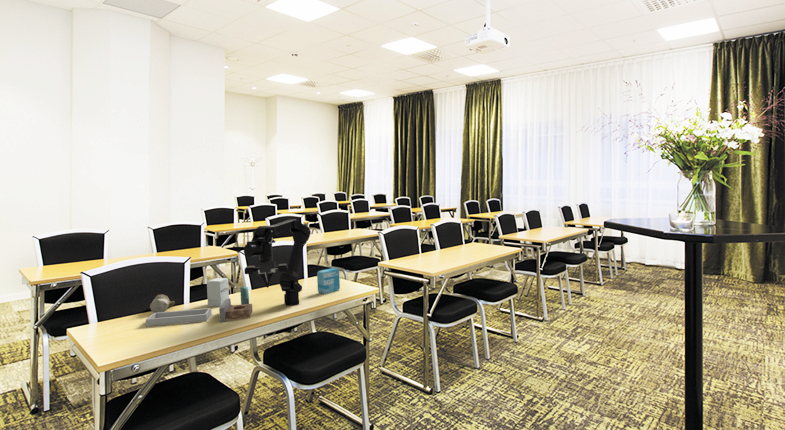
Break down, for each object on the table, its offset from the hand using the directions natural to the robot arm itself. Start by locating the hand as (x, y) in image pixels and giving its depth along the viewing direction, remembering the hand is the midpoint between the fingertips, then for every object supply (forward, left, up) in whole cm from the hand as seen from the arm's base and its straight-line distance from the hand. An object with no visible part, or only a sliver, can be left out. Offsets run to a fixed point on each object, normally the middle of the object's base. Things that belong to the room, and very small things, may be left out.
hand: (267, 287), depth 192 cm
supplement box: (+26, -22, -12) cm, 36 cm away
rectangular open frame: (+38, 0, -12) cm, 39 cm away
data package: (-29, -30, -12) cm, 44 cm away
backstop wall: (+19, 0, -12) cm, 22 cm away
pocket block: (+13, +1, -12) cm, 18 cm away
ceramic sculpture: (+51, -20, -12) cm, 56 cm away
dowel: (+12, -11, -12) cm, 20 cm away
